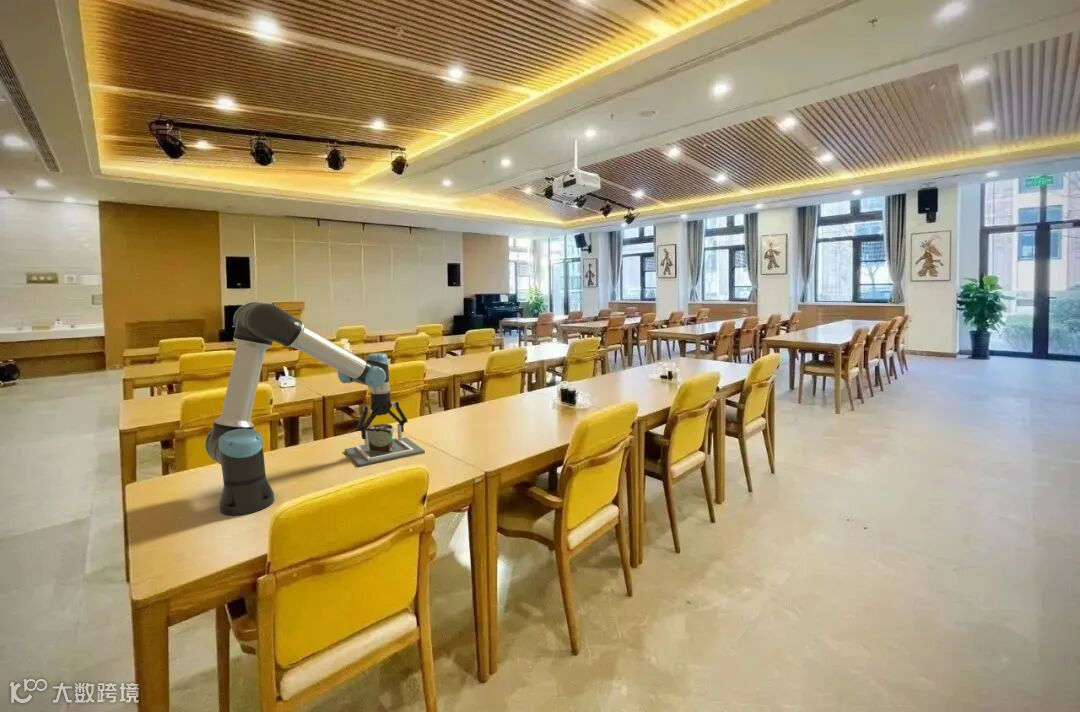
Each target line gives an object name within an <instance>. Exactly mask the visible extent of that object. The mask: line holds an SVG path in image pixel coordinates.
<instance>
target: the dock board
mask: <svg viewBox="0 0 1080 712" xmlns="http://www.w3.org/2000/svg"><path fill="white" fill-rule="evenodd" d="M368 444H369V443H368ZM425 451H426V450H424V449H423V448H422V447H421V446H419V445H417V444H416V443H414V442H413V441H412V440H410V439H409V438H407V437H406V436H405V437H402V441H400V440H398V437H393V439H392V452H391V453H384V452H373V451H370V449H369V447H366V446H365V443H362V444H357V445H355V446H353V447H349V448H344V453H346V454H347V455H348V457H349V458H350V459H351V460H352V461H353V462H354V463H355V464H356V465H357V466H358V468H360V467H365V466H371V465H374V464H379V463H384V461H385V462H388V461H394V460H398V458H399V459H403V457H404V458H407V457H412V456H417V455H422V454H425Z"/></svg>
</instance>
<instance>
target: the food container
mask: <svg viewBox="0 0 1080 712" xmlns="http://www.w3.org/2000/svg"><path fill="white" fill-rule="evenodd" d="M366 431H368V443H369V449H370V451H373V452H384V453H391V452H392V439H393V438H394V435H393V434H395V429H394V426H393V425H392V424H386V423H381V424H380V423H379V424H372V425H371V424H370V425H369V426H368V428H367V429H366Z"/></svg>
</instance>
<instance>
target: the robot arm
mask: <svg viewBox="0 0 1080 712" xmlns="http://www.w3.org/2000/svg"><path fill="white" fill-rule="evenodd" d="M233 326H234V328H235V329H234V333H233V337H232V339H233V341H234V342H235V344H236V347H235V353H234V356H233V361H232V365H231V370H230V373H229V378H228V383H227V387H226V391H225V396H224V401H223V405H222V409H221V413H220V416H219V417H217V418H216V419H214V420H213V426H212V429H211V430H210V431H209V432H208V434H207V436H206V437H205V440H204V441H205V442H204V447H205V450H206V452H207V454H208V456H209V457H210V458H211V459H212V460H214V461H215V462H217V463H218V464H219V465H220V466H221V472H222V473H221V474H222V480H223V488H222V492H221V496H220V500H219V511H220V513H221V514H223V515H225V516H240V515H247V514H252V513H255V512H259V511H261V510H263V509H266V508H267V507H269V506H271V505H272V504H273V503H274V502H275V500H274V499H275V492H274V491H273V489H272V486H271V484H270V482H269V481H268V479H267V474H266V464H265V456H264V455H265V454H264V441H263V437H262V435H261V433H260V432H259V431H257V430H255V429H254V427H255V425H254V423H253V422H252V421H251V419H252V418H251V416H252V414H253V407H254V404H255V399H256V394H257V390H258V387H259V386H258V385H259V382H260V377H261V372H262V368H263V363H264V359H265V354H266V351H267V349H269V348H271V347H272V346H273V342H274V343H277V344H280V345H282V346H283V347H285V348H288V347H292V348H294V349H297V350H298V351H300V352H302V353H304V354H306V355H307V356H310V357H311V358H313V359H315V360H317V361H320V362H322V364H325V365H326V366H328V367H330V368H333V369H335V370H336V371H337V377H338V379H339V382H341V383H342V384H351V383H357V384H360V385H364V386H368V387H369V392H370V405H363V407H362V413H361V415H360V417H359V420H358V422H357V425H356V427H355V429H356V431H358V432H361V434H360V435H361V439H362V440H364V444H365V446H366V447H369V444H368V431H366V429H367V428H368V426H371V423H372V422H373V421H374V419H375V418H376V417H377V416H385V415H387V414H388V415H390V416H391V417H392V418H393V419H394V420H395V421H396V422H397V423H398V424H396V425H397V426H396V428H397V429H396V430H397V438H398V440H400V441H402V438H403V434H402V433H404V432H405V430H404V429H405V428H404V425H405V424H407V423H408V422H409V421H408V419H407V417H406V415H405V414H404V412H403V410H402V408H401V407H400V403H399V402H398V401H397V400H394V401H393V402H391V392H390V391H391V388H390V387H391V386H390V373H389V372H390V371H389V359H388V355H387V354H386V353H383V352H382V353H381V352H379V353H377V352H376V353H370V354H368V355H367V359H366V360H365V359H363V358H362V357H359V356H357V355H356V354H353V353H352V352H350V351H348V350H347V349H345V348H343V347H342V346H339V345H338V344H336V343H334V342H333V341H331V340H329V339H327V338H326V337H324V336H322V335H319V334H318V333H316V332H315V331H313V330H311V329H310V328H307V327H305V326H304V322H303V321H301V320H299V319H298V318H297V317H295V316H293V315H292V314H290V313H289V312H287V311H285V310H284V309H282V308H280V307H279V306H277V305H275V304H273V303H266V302H264V303H263V302H257V301H254V302H249V303H248V302H247V303H245V304H243V305H241V306H239V307H238V309H237V310H236V311H235V312H234V315H233ZM392 407H394V408H395V410H396V412H397V414H398V415H399V417H400V418H399V417H398V416H397V415H396V414H395V413H394V412H393V411H392V410H391V409H392ZM370 411H371V413H370V415H369V417H367V415H368V412H370ZM366 418H367V419H366ZM365 420H366V421H365Z"/></svg>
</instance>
